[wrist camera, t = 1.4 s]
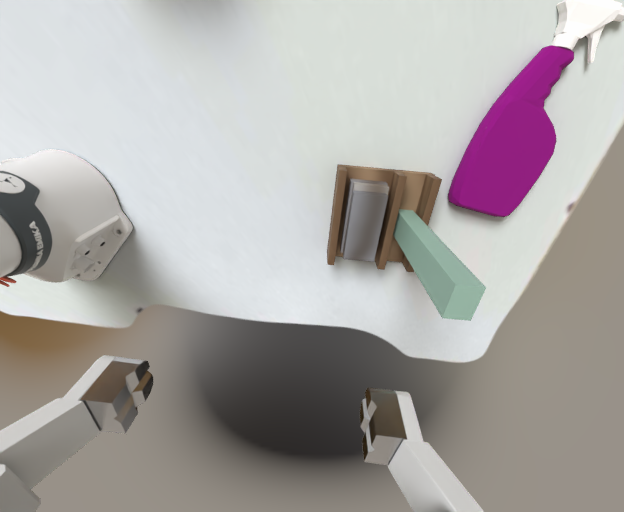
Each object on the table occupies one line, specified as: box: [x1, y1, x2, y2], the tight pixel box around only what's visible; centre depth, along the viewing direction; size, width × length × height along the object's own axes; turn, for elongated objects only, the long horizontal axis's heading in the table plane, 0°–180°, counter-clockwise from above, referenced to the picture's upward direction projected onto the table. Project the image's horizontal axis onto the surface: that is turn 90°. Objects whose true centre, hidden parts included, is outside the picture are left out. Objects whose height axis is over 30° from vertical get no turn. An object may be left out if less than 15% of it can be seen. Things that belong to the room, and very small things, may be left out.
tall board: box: [393, 209, 486, 321], centre depth 31 cm, size 2×4×20 cm
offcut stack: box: [340, 179, 389, 262], centre depth 38 cm, size 5×11×4 cm, turn 175°
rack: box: [327, 165, 442, 272], centre depth 40 cm, size 14×14×4 cm
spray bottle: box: [448, 0, 624, 217], centre depth 34 cm, size 3×11×25 cm
